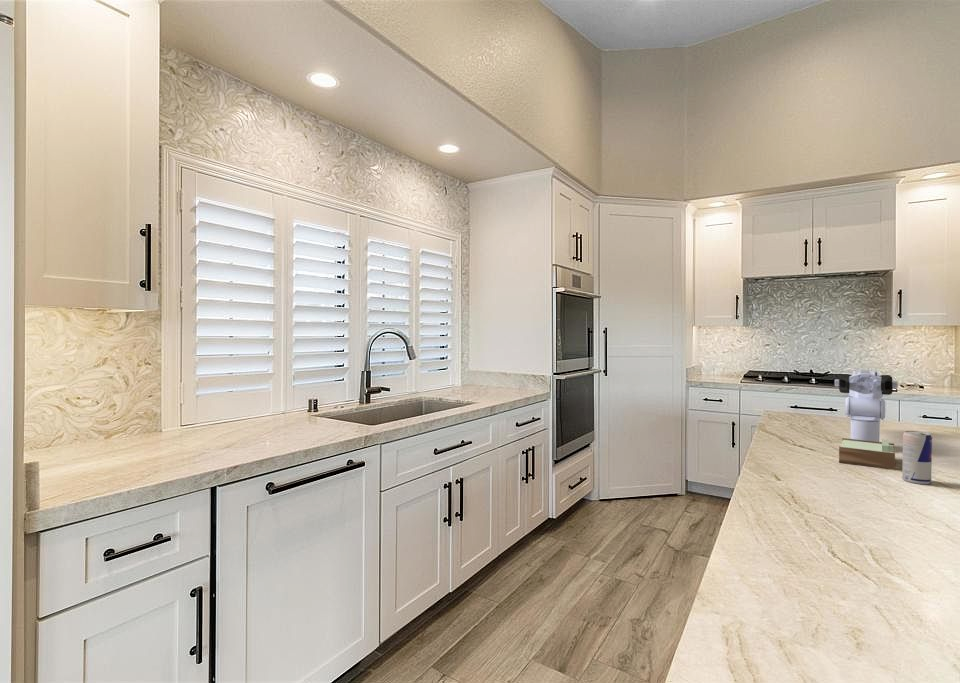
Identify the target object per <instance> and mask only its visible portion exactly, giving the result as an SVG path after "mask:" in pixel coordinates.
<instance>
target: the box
mask: <svg viewBox="0 0 960 683" xmlns="http://www.w3.org/2000/svg"><path fill="white" fill-rule="evenodd" d="M843 440H851V441H860V442H869V443H878V444H882V441H879V442H875V441H865V440H856V439H850V438H845V437H843V438H842V439H841V441H843ZM889 445H893V446H894V447H895V443H892V442H889ZM838 463H840V464H847V465H852V466H853V465H855V466H863V467H868V468H869V467H870V468H876V469H883V470H884V469H885V470H892V471H895V470H896V452H895V449H894V453H890V452H881V451H873V450H864V449H855V448H847V447H841V446H839V447H838Z"/></svg>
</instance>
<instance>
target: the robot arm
mask: <svg viewBox="0 0 960 683" xmlns="http://www.w3.org/2000/svg"><path fill="white" fill-rule="evenodd" d="M834 387H837V388H838V390H839V393H842V394H848V395H849V396H847V397H846V398H845V408H844V410H845V416H847V417H848V418H849V419H850V424H849V425H850V431H849V432H850V434H849V439H856V440H865V441H875V442H880V429H881V426H880V424H881V420H884V419H886V400H885V399H883V397H884V395H885V396H888V395H892V394H893V392H894V391H893V389H895V390H896V389H898V380H893V377H892V376H891V374H881V375H879V372H878V371H869V369H861V370H860V371H859V370H856V371H855V370H853V372H852V374H851V375H850V374H847V373H842V374H840V375H839V376H838V379H834Z"/></svg>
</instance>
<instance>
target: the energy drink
mask: <svg viewBox="0 0 960 683" xmlns="http://www.w3.org/2000/svg"><path fill="white" fill-rule="evenodd" d="M932 450H933V437H932V434H931V433H929V432H927V431H920V430H919V431H917V430H904V431H903V434H902V469H901V470H902V471H901V472H902V473H901V474H902V477H901V479H903V481H905V482H907V483H911V484H917V485H930V484H931V483H932V465H933V464H932V463H933V462H932V460H933V459H932V458H933V451H932Z"/></svg>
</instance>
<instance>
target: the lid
mask: <svg viewBox="0 0 960 683" xmlns="http://www.w3.org/2000/svg"><path fill="white" fill-rule="evenodd" d="M841 441H842V440H841ZM881 442H882V444H878V443H869V442H860V441H851V440H843V441H842V442H841V444H840V447H847V448H855V449H864V450H873V451H881V452H890V453H894V450H895V445H894V446H893V445H889V443H890V440H889V439H884V438H883V439H882V440H881Z"/></svg>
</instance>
